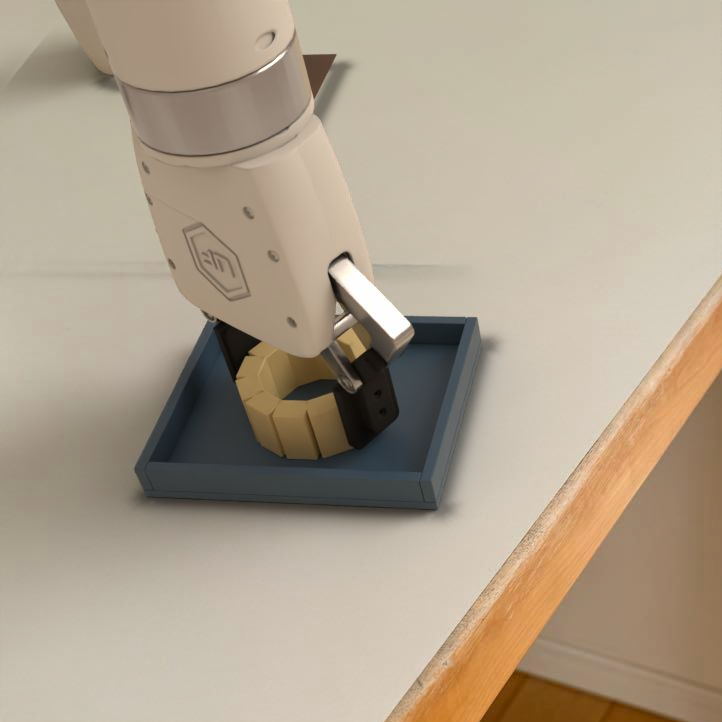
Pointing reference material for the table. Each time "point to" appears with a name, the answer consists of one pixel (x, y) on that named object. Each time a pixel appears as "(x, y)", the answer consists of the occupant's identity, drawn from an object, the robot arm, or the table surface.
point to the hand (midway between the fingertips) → (315, 399)
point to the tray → (325, 475)
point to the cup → (85, 31)
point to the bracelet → (293, 401)
